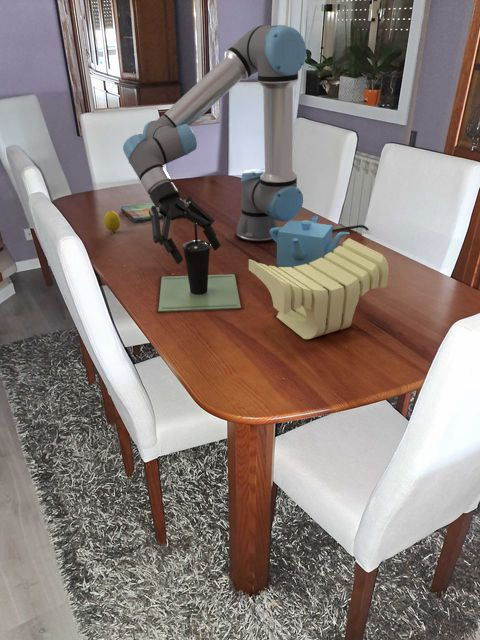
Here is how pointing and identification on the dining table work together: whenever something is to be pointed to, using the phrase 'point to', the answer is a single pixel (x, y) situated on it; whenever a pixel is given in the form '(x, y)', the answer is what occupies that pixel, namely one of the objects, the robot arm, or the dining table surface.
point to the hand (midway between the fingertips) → (199, 254)
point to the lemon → (112, 221)
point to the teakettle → (303, 242)
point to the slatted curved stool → (323, 288)
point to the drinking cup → (197, 264)
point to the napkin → (181, 299)
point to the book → (139, 211)
